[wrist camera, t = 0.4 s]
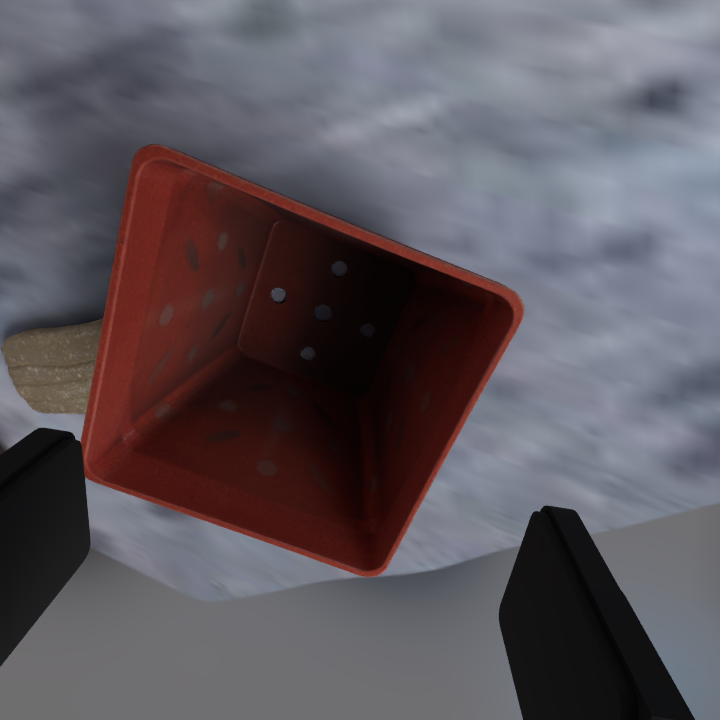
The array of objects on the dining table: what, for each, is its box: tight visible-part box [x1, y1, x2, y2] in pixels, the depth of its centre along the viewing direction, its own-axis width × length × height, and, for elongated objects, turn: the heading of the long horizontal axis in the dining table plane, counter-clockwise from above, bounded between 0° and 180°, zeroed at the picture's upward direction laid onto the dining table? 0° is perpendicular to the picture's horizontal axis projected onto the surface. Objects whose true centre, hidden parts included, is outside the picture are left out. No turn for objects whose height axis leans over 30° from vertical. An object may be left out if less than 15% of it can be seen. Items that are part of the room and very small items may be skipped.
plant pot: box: [81, 144, 524, 577], centre depth 32 cm, size 19×19×17 cm
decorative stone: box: [1, 319, 103, 414], centre depth 42 cm, size 10×16×4 cm, turn 100°
